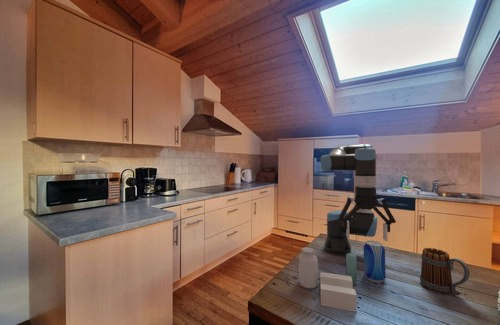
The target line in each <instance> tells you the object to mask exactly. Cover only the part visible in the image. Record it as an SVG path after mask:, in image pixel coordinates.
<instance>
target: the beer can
mask: <svg viewBox="0 0 500 325" xmlns="http://www.w3.org/2000/svg"><path fill="white" fill-rule="evenodd" d="M363 275H364V276H365V278H366V279H367V280H369V281H370V282H372V283H377V284H380V283H383V282H384V281H385V280H386V250H385V248H384V246H383V243H382V242H380V241H377V240H376V241H375V240H366V241H365V244H364V245H363Z"/></svg>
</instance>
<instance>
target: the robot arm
mask: <svg viewBox="0 0 500 325" xmlns="http://www.w3.org/2000/svg"><path fill="white" fill-rule="evenodd" d="M376 153H377V152H376V148H374V146H373V145H371V144H365V143H364V144H363V143H362V144H347V145H345V144H344V145H340V146H337V147H335V148H333V149H331V151H330V152H329V154H324V155H320V168H321V170H322V171H327V172H328V171H352V172H353V197H350V196H347V197H346V202H345V204H344V206H343V208H342V210H340V209H339V210H333V211H329V212H328V213H327V214H326V227H327V228H326V239H325V242H324V245H323V247H324V250H325V251H326V252H328V253H330V254H334V255H339V256H346V254H349V253H350V254H352V247H351V243H350V240H349V239H350V235H352V236H353V235H354V236H361V237H365V238H366V237H369V238H370V237H371V238H373V237H375V236H376V234H377V229H378V216H379V217H380V218H381V219H382V220H383V221H384V222H382V239H383V241H385V242H388V239H389V237H388V233H390V232H391V225H392V224H396V222H397V220H396V219H395V217H394V216H393V214H392V212H391V210H390V209H389V208H390V207H388V205H387V200H386V199H385V198H377V187H376V186H377V154H376ZM353 203H354V206H353V207H352V208H351V209H350V210H349V208H350V206H351V204H353ZM377 204H380V205H381V207H382V209H383V210H384V212H385V215H387V217H386V216H385V215H384V213H382V212H381V210H379V208H378V207H377V206H376V205H377ZM372 209H373V210H372ZM348 210H349V211H348ZM374 211H375V212H374ZM375 213H376V214H377V215H378V216H376V215H375Z"/></svg>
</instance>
